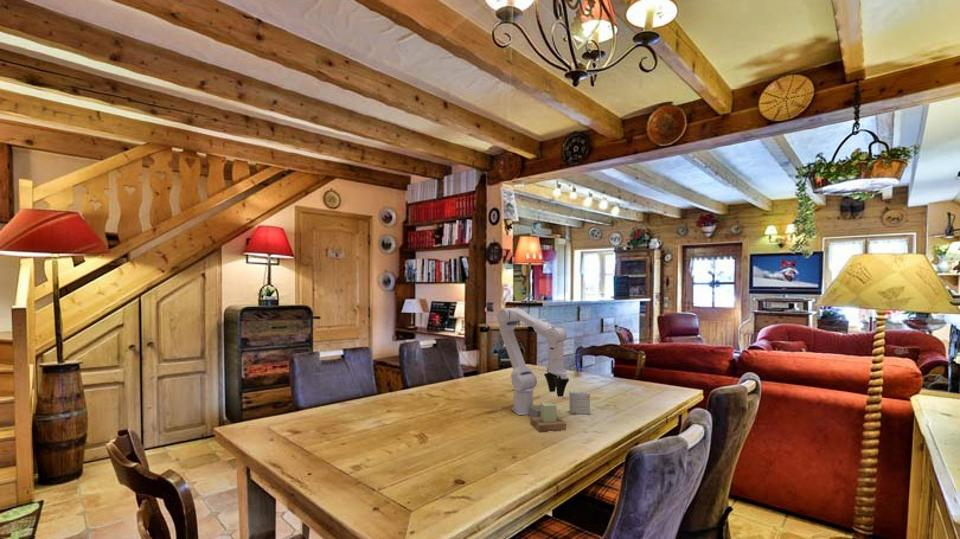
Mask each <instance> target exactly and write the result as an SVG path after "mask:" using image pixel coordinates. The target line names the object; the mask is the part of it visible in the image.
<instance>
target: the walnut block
mask: <svg viewBox="0 0 960 539" xmlns="http://www.w3.org/2000/svg"><path fill="white" fill-rule="evenodd" d="M529 420H530V425H531V426H532V425H533V426H534V427H535V430H536V431H538V432H539V433H549V432H548V431H554V432H562V431H561V430H566V431H567V423H566V422H564V421H563V420H562V419H560V418H559V417H557V416H556V422H547V423H544V422H543V421H542V420H541V417H530V419H529ZM533 426H532V427H533ZM534 427H533V428H534Z"/></svg>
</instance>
